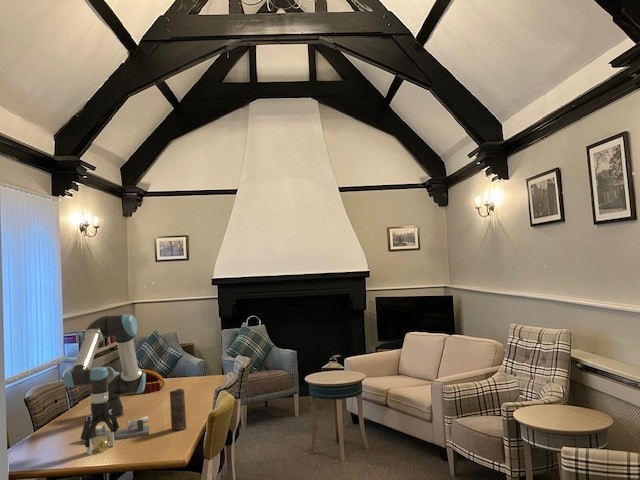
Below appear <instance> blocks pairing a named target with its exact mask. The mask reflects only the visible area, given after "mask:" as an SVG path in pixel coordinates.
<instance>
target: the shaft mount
mask: <svg viewBox="0 0 640 480" xmlns="http://www.w3.org/2000/svg"><path fill="white" fill-rule="evenodd" d="M149 422H150V421H149V416H148V415H146V416H143V417H137V418H136V419H134V420H131V421H130V420H127V428H121V429H120V428H119V429H117V431H116V432H115V436H116V437H115V438H114V441H116V440H122V439H130V438H137V436H138V437H143V436H149V435H150V425H144V424H146V423H149ZM107 428H108V426H107V425H106V423H104V424H103V425H98V424H97V425H96V427H95V429H94V431H93V434H92V436H91V438H90V439H91V440H92V444H93V438H95V437H97V436H100V435H103V436H108V442H109V432H110V431H111V430H108V429H107ZM82 444H83V445H85V440H82Z"/></svg>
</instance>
